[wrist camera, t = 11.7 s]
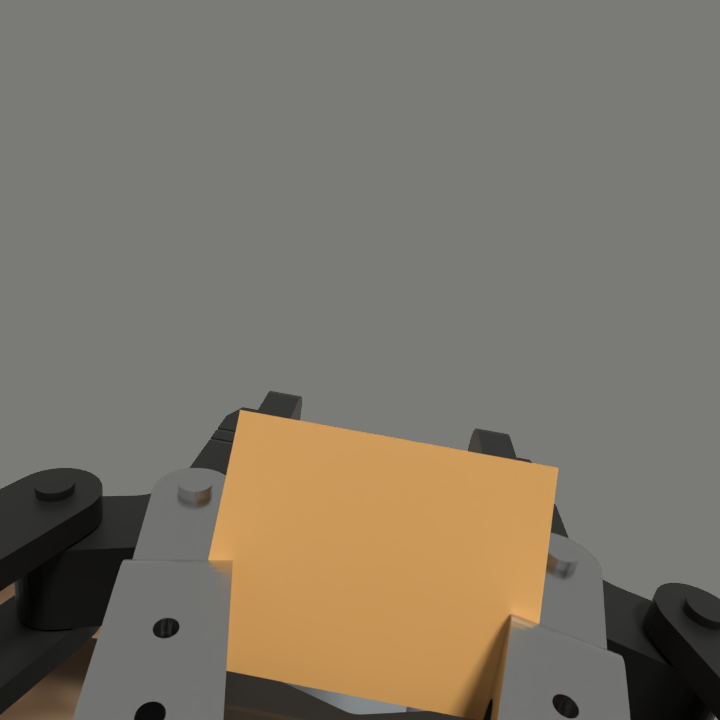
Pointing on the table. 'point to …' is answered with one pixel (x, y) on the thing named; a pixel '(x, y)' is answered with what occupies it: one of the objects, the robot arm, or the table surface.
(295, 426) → the orange bar
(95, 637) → the tall walnut stand
